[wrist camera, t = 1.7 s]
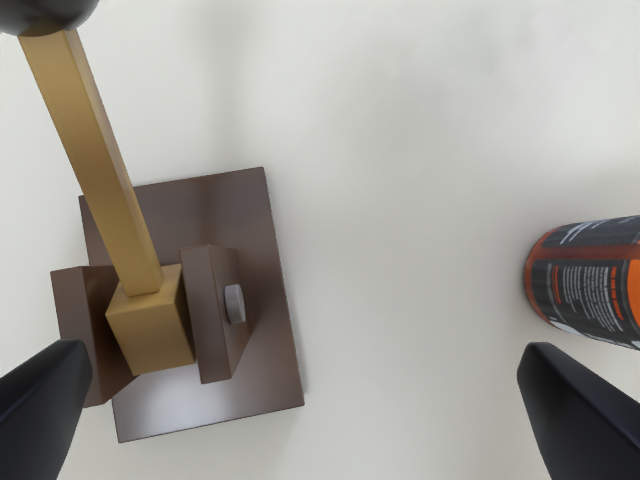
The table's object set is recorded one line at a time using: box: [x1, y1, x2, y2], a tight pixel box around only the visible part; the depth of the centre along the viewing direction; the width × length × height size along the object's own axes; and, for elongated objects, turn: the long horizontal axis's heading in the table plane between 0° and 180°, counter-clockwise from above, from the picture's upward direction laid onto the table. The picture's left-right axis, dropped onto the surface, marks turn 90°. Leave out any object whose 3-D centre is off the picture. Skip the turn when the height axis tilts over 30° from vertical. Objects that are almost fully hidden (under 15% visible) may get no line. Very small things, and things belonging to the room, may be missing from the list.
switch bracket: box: [50, 167, 305, 443], centre depth 18 cm, size 12×9×9 cm
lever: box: [0, 0, 196, 375], centre depth 13 cm, size 14×4×4 cm
